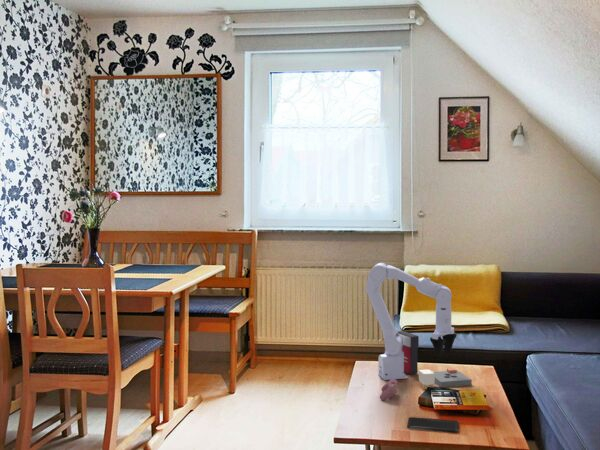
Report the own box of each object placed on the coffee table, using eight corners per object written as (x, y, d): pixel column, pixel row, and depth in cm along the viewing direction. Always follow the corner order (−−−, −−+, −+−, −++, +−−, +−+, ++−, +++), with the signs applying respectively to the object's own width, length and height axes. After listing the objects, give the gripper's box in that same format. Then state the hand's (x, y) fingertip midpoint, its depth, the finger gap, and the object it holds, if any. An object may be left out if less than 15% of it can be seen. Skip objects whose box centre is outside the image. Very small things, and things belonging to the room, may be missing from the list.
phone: (458, 430, 169) (406, 426, 173) (458, 434, 169) (406, 429, 173) (458, 420, 177) (408, 416, 181) (458, 424, 177) (408, 420, 181)
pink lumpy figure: (390, 405, 197) (400, 388, 196) (378, 399, 198) (387, 381, 197) (392, 396, 207) (400, 379, 206) (380, 389, 207) (389, 372, 206)
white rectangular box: (424, 390, 208) (424, 374, 207) (418, 385, 213) (418, 370, 212) (434, 389, 208) (434, 373, 208) (429, 384, 213) (429, 369, 213)
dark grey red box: (393, 368, 235) (393, 331, 235) (402, 366, 237) (402, 330, 236) (409, 375, 225) (409, 337, 225) (418, 373, 227) (418, 335, 226)
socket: (440, 387, 210) (440, 379, 210) (427, 377, 222) (427, 369, 222) (471, 384, 212) (471, 376, 212) (457, 375, 224) (457, 367, 224)
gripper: (444, 323, 210) (444, 360, 210) (461, 317, 221) (461, 352, 222) (427, 321, 214) (427, 357, 215) (444, 314, 226) (444, 349, 226)
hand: (443, 354), depth 219 cm, fingers open, 7 cm apart
